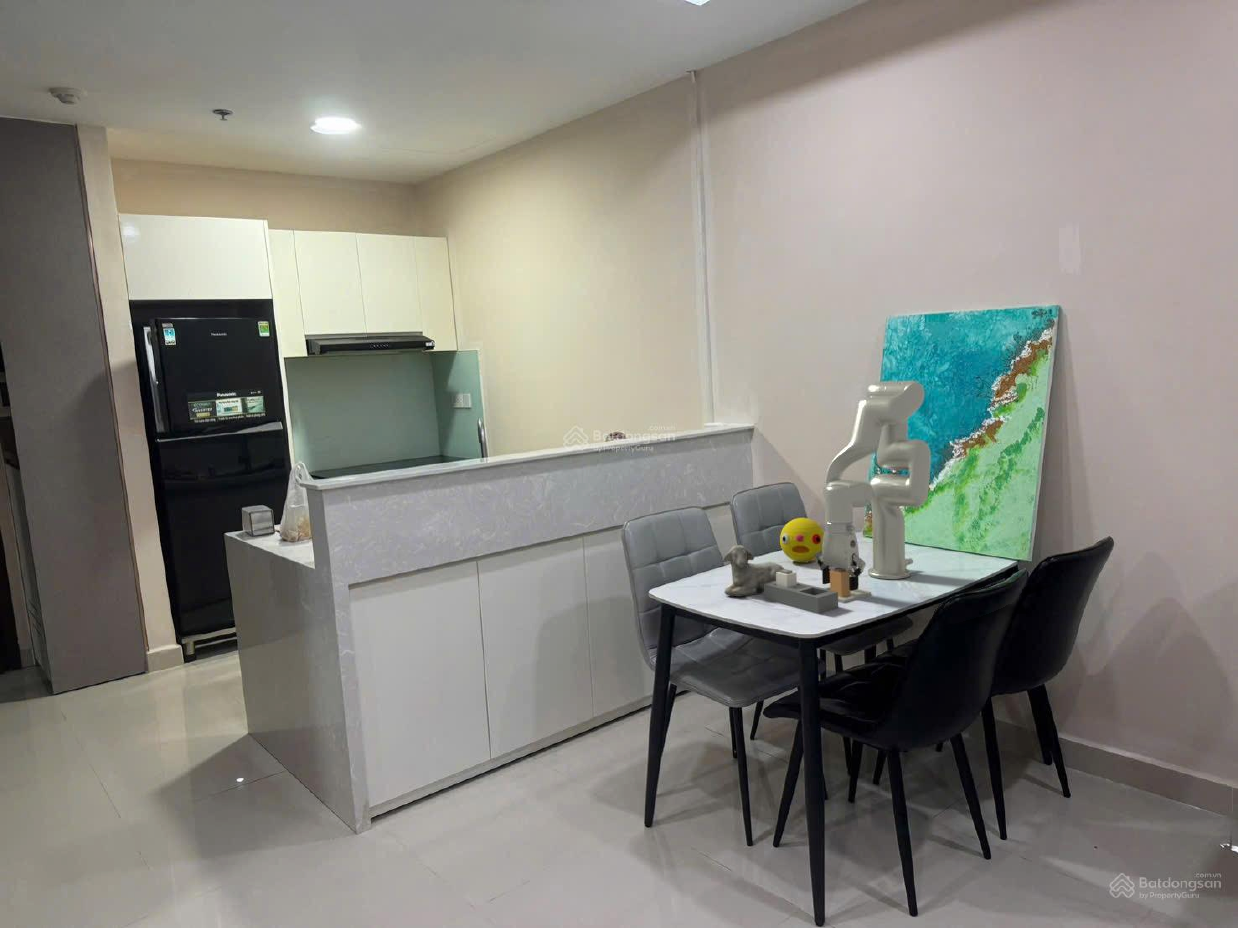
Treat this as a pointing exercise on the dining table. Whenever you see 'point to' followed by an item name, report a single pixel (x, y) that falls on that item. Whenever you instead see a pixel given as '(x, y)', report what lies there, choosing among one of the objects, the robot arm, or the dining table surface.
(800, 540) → the toy
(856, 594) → the tray
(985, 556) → the dining table surface
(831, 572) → the plug
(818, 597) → the pdu
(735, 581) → the sculpture
